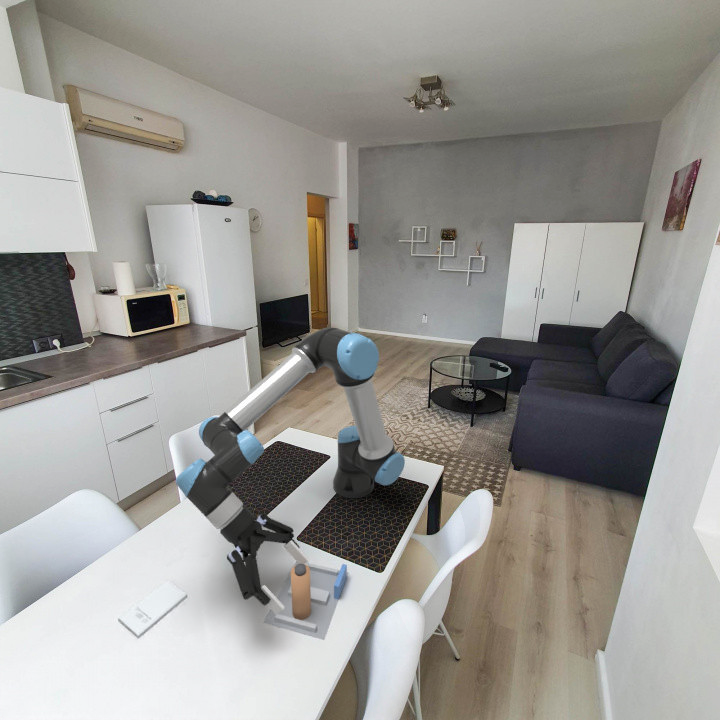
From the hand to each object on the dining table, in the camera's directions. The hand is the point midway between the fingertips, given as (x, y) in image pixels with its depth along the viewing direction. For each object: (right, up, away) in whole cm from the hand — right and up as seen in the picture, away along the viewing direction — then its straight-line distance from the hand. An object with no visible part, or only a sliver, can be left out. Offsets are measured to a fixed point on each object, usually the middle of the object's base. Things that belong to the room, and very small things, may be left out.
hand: (293, 585), depth 88 cm
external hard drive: (-35, -9, +4) cm, 36 cm away
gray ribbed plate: (+3, -8, +7) cm, 11 cm away
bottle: (+2, -8, +3) cm, 9 cm away
